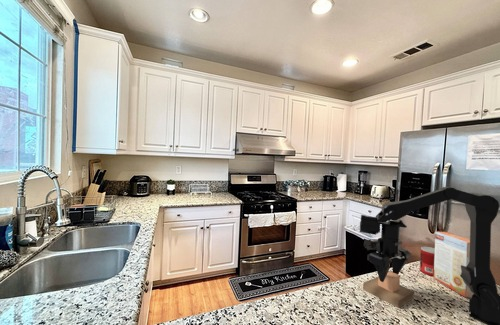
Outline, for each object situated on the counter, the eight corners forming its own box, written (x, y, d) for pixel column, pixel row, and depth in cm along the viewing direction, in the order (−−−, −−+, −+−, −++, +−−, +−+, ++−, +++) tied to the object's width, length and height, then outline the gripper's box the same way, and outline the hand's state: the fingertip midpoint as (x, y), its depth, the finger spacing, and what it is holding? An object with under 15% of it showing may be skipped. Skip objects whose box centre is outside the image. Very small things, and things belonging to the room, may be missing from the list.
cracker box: (481, 299, 78) (483, 243, 79) (464, 298, 78) (466, 242, 79) (446, 279, 92) (448, 231, 93) (432, 278, 92) (434, 230, 93)
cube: (399, 288, 78) (399, 275, 78) (392, 292, 75) (393, 278, 75) (385, 282, 82) (385, 269, 82) (377, 285, 80) (378, 271, 80)
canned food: (447, 279, 92) (447, 254, 93) (426, 276, 94) (427, 251, 94) (435, 270, 100) (436, 247, 100) (416, 268, 102) (417, 245, 102)
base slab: (413, 299, 77) (414, 291, 77) (398, 309, 70) (398, 300, 70) (379, 283, 87) (379, 275, 87) (362, 290, 81) (363, 282, 81)
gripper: (381, 228, 91) (380, 264, 90) (355, 233, 81) (353, 273, 81) (411, 236, 81) (410, 277, 81) (385, 243, 72) (383, 289, 71)
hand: (388, 278), depth 79 cm, fingers open, 9 cm apart
